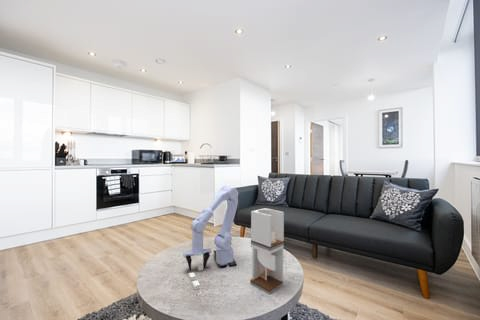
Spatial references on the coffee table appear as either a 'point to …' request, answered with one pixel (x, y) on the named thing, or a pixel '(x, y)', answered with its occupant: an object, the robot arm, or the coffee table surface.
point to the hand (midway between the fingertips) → (197, 268)
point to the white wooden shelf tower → (267, 249)
